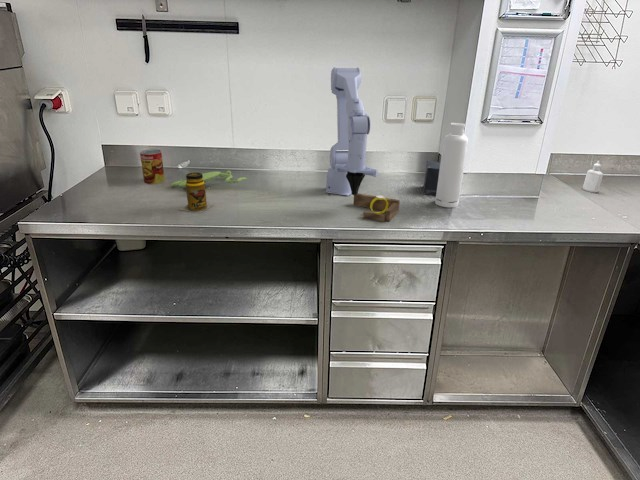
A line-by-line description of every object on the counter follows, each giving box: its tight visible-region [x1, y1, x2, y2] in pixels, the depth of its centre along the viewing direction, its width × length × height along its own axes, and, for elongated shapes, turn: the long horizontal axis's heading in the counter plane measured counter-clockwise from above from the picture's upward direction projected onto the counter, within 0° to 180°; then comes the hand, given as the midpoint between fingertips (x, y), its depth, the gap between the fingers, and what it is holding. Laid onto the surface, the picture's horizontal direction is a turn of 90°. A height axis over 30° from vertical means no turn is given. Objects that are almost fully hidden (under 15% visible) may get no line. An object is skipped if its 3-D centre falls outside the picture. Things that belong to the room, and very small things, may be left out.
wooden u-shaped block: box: [352, 192, 401, 222], centre depth 147 cm, size 16×12×4 cm
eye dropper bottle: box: [582, 160, 604, 194], centre depth 172 cm, size 4×6×12 cm
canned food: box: [139, 148, 166, 185], centre depth 173 cm, size 8×8×12 cm
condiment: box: [178, 171, 212, 214], centre depth 146 cm, size 7×8×12 cm
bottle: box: [434, 122, 469, 208], centre depth 152 cm, size 8×8×28 cm
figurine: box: [170, 170, 247, 193], centre depth 169 cm, size 18×27×6 cm
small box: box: [422, 160, 441, 196], centre depth 169 cm, size 11×6×10 cm, turn 168°
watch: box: [370, 194, 388, 215], centre depth 147 cm, size 6×3×6 cm, turn 102°
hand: (354, 194), depth 148 cm, fingers closed
